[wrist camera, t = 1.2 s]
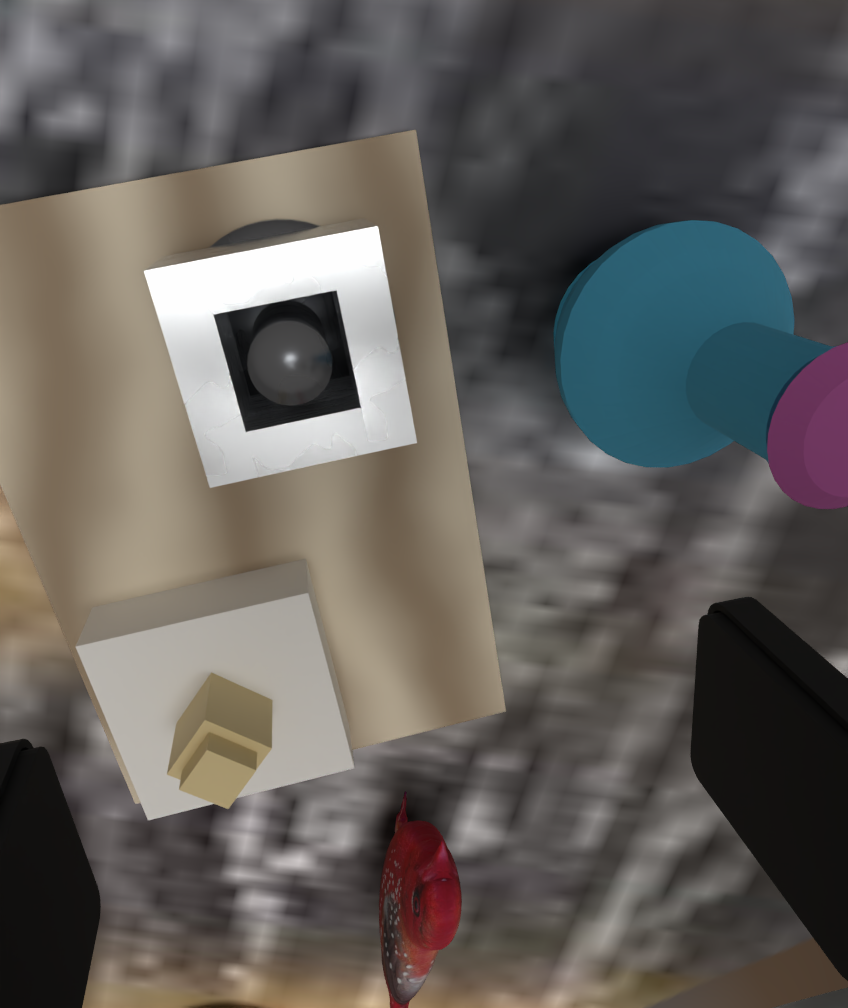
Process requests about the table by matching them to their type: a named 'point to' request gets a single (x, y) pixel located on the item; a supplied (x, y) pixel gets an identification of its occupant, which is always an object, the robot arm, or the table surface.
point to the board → (259, 501)
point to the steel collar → (218, 369)
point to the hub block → (218, 688)
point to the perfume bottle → (702, 360)
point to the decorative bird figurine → (416, 905)
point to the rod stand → (287, 334)
